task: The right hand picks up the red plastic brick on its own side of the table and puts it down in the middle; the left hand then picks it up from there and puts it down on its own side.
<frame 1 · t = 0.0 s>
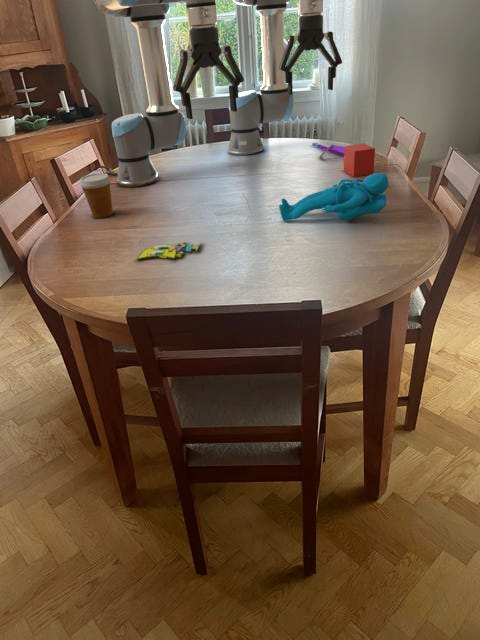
left hand: (212, 114, 136), 28 cm above the table, tool pointing down, fingers open, 13 cm apart
right hand: (310, 92, 156), 28 cm above the table, tool pointing down, fingers open, 13 cm apart
toy: (331, 218, 137), on the table
brick: (358, 172, 172), on the table
toy 2: (170, 252, 127), on the table
musical instrument: (328, 153, 196), on the table
disposable coffee cup: (103, 214, 155), on the table
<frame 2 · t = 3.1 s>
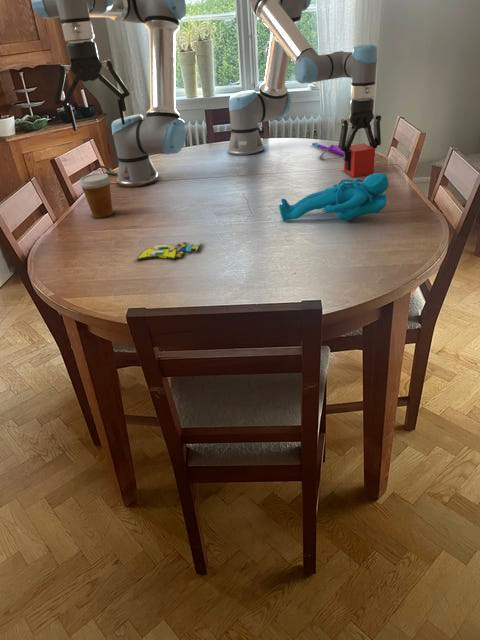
left hand: (99, 127, 138), 27 cm above the table, tool pointing down, fingers open, 13 cm apart
right hand: (358, 168, 171), 2 cm above the table, tool pointing down, fingers closed on brick, 8 cm apart
brick: (358, 172, 172), on the table, touching right hand
everything else where it was.
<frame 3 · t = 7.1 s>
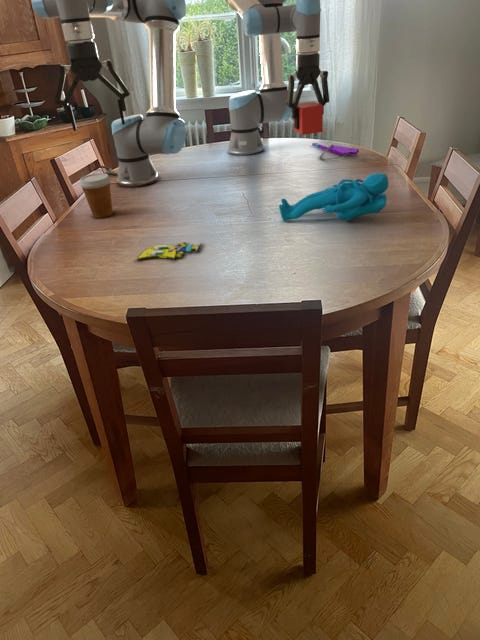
left hand: (99, 127, 138), 27 cm above the table, tool pointing down, fingers open, 13 cm apart
right hand: (307, 126, 169), 16 cm above the table, tool pointing down, fingers closed on brick, 8 cm apart
brick: (307, 131, 170), point 14 cm above the table, touching right hand
everything else where it was.
when the right hand's fingers open (3 cm above the table, at t = 11.2 s): brick drops 1 cm, on the table.
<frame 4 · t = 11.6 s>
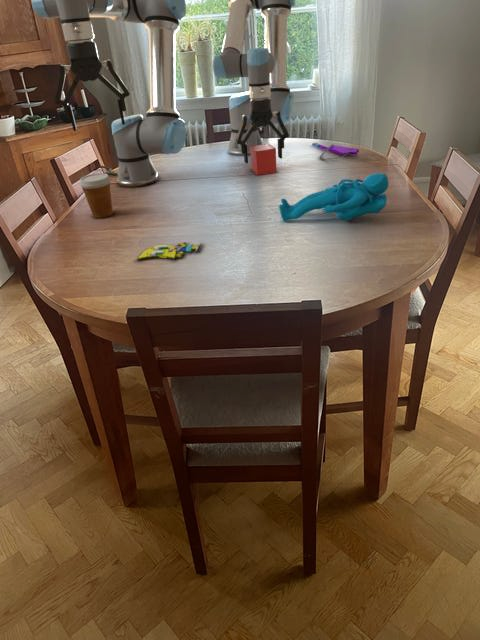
left hand: (99, 127, 138), 27 cm above the table, tool pointing down, fingers open, 13 cm apart
right hand: (263, 160, 181), 4 cm above the table, tool pointing down, fingers open, 13 cm apart
brick: (263, 171, 183), on the table
everything else where it was.
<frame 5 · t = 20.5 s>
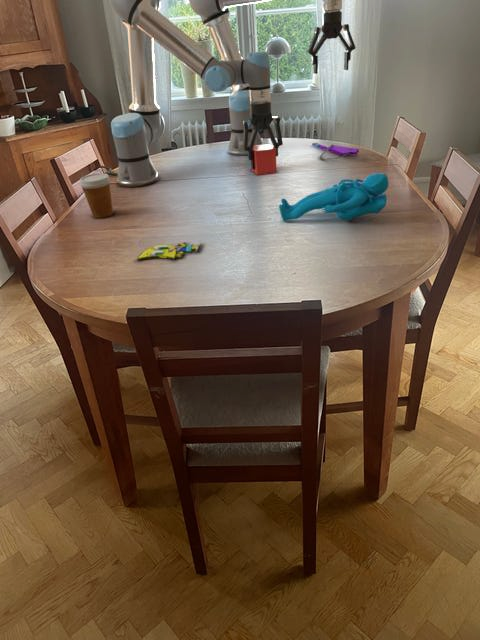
left hand: (263, 166, 182), 2 cm above the table, tool pointing down, fingers closed on brick, 8 cm apart
right hand: (330, 71, 200), 28 cm above the table, tool pointing down, fingers open, 13 cm apart
brick: (263, 171, 183), on the table, touching left hand
everything else where it was.
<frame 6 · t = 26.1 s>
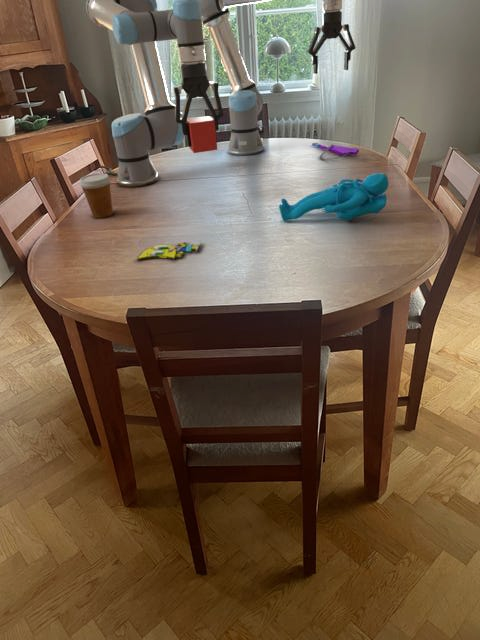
left hand: (202, 143, 152), 18 cm above the table, tool pointing down, fingers closed on brick, 8 cm apart
right hand: (330, 71, 200), 28 cm above the table, tool pointing down, fingers open, 13 cm apart
brick: (203, 148, 153), point 16 cm above the table, touching left hand
everything else where it was.
when the left hand's fingers open (3 cm above the table, at t = 31.8 s): brick drops 1 cm, on the table.
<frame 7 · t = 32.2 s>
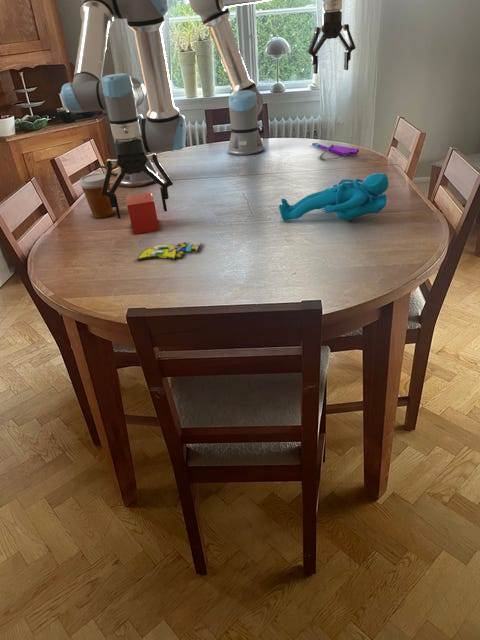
left hand: (142, 213, 141), 4 cm above the table, tool pointing down, fingers open, 13 cm apart
right hand: (330, 71, 200), 28 cm above the table, tool pointing down, fingers open, 13 cm apart
brick: (145, 227, 143), on the table
everything else where it was.
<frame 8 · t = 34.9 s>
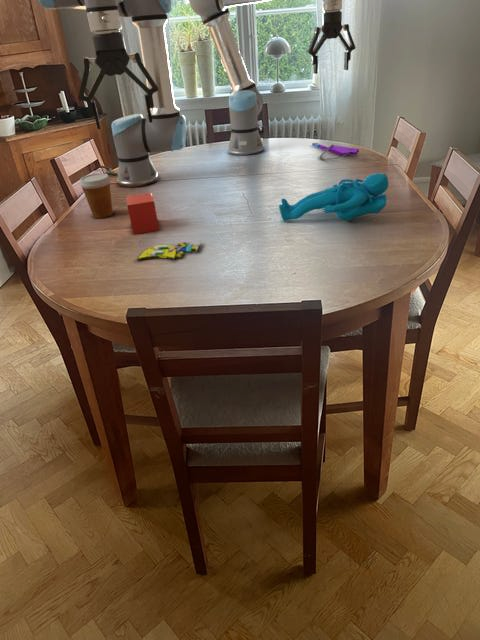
left hand: (125, 125, 128), 29 cm above the table, tool pointing down, fingers open, 13 cm apart
right hand: (330, 71, 200), 28 cm above the table, tool pointing down, fingers open, 13 cm apart
nothing on the table moved.
at the end: brick inside the target area (0.1 cm from its centre), on the table; brick tilted 0°; the two hands never held the brick at the same time; the left hand is holding nothing; the right hand is holding nothing; brick at rest at the end (0.0 cm/s) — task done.
